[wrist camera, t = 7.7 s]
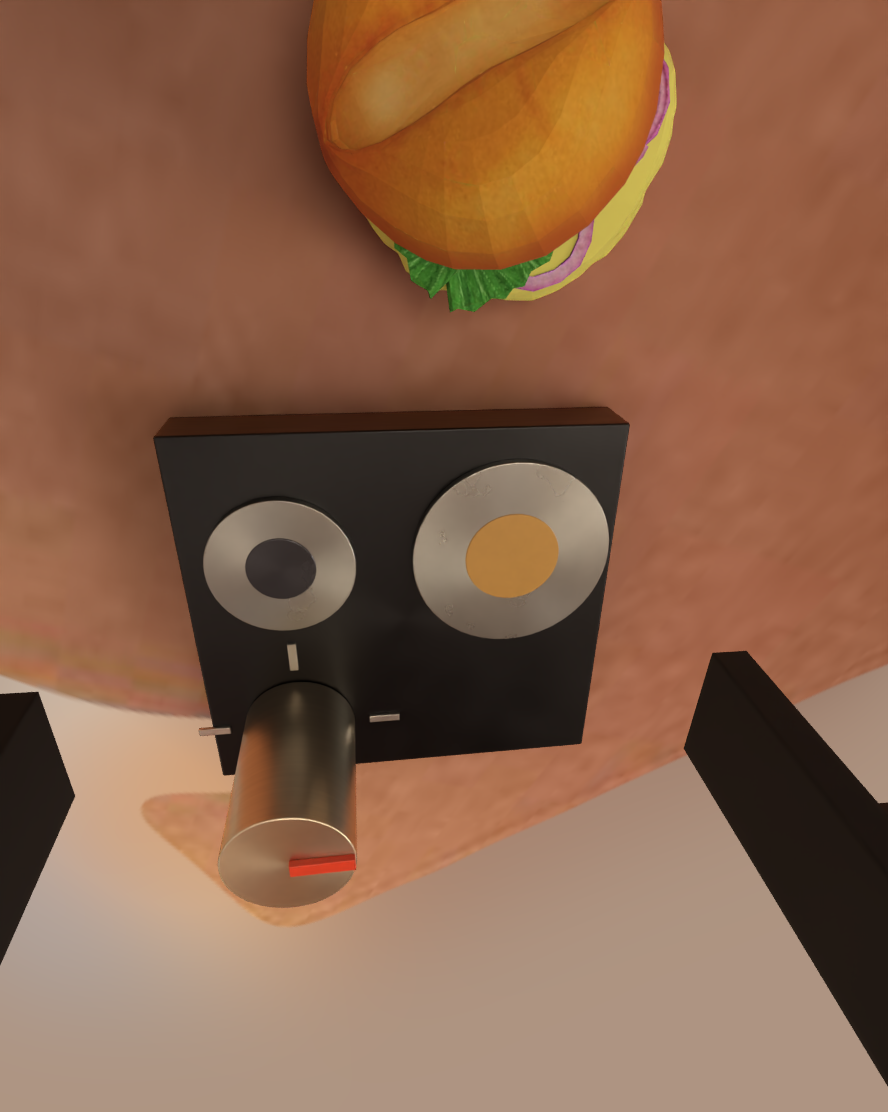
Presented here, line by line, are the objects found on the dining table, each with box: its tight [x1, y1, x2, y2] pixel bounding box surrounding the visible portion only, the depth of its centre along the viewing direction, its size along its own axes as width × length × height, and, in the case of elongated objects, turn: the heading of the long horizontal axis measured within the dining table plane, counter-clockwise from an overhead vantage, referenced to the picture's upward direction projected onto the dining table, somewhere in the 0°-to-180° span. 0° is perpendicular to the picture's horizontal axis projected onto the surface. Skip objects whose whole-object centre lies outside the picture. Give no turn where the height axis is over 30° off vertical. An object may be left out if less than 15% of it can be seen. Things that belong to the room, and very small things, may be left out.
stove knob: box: [218, 682, 357, 908], centre depth 27 cm, size 5×5×8 cm
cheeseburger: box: [307, 0, 677, 312], centre depth 19 cm, size 10×11×10 cm
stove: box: [153, 407, 630, 775], centre depth 30 cm, size 19×19×3 cm
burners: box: [203, 459, 609, 639], centre depth 27 cm, size 8×17×1 cm, turn 90°
